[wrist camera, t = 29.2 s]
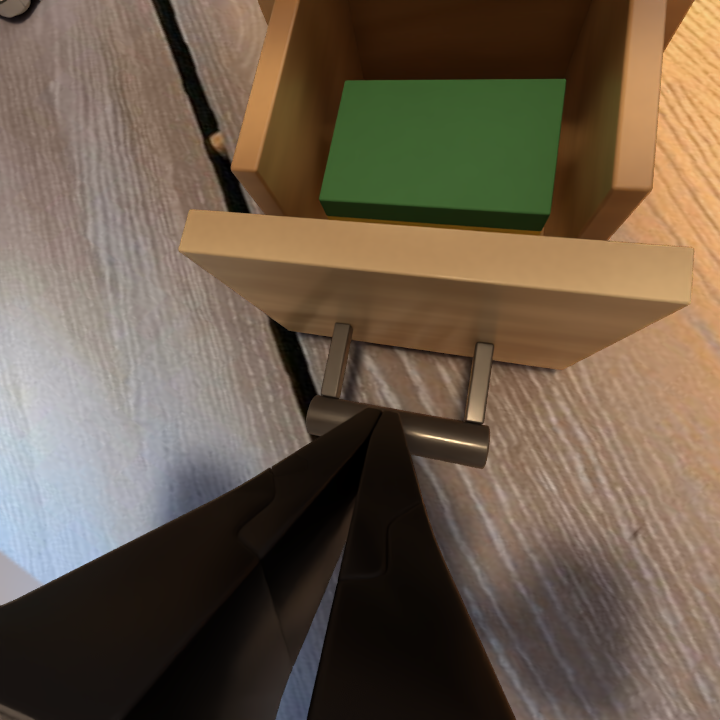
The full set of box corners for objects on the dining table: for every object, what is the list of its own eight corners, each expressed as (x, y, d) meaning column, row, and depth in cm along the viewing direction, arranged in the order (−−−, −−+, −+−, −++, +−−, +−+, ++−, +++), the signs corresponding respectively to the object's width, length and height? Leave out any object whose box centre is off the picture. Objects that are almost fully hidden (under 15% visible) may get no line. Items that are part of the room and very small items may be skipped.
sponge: (520, 272, 15) (550, 214, 11) (345, 255, 16) (318, 199, 12) (534, 166, 16) (567, 77, 12) (365, 160, 17) (344, 79, 13)
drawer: (551, 479, 14) (679, 528, 7) (268, 421, 17) (132, 410, 9) (593, 89, 17) (720, -191, 9) (342, 89, 19) (282, -132, 12)
